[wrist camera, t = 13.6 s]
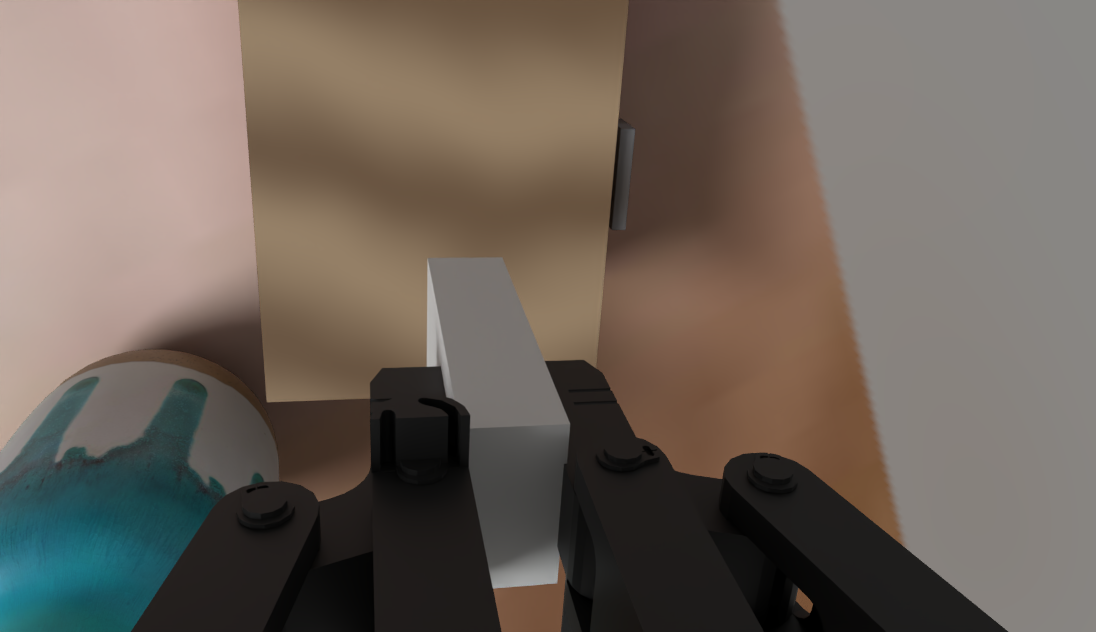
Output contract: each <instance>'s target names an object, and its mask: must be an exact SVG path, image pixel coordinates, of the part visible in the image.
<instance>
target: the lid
mask: <svg viewBox="0 0 1096 632" xmlns="http://www.w3.org/2000/svg"><path fill="white" fill-rule="evenodd" d="M628 5H629V0H238V9H239V23H240V37H241V51H242V65H243V79H244V93H245V107H246V121H247V135H248V149H249V163H250V177H251V191H252V204H253V218H254V232H255V246H256V260H257V274H258V288H259V302H260V316H261V330H262V344H263V358H264V372H265V386H266V400H267V402H289V401H316V400H343V399H370V382H371V381H372V380H373V378H374V377H375V376H376V375H377V374H378V372H379V371H380V370H381V369H382V368H400V367H427V267H428V258H486V257H502V258H503V261H504V263H505V265H506V268H507V270H508V273H509V275H510V278H511V280H512V283H513V285H514V287H515V290H516V292H517V295H518V297H519V300H520V302H521V305H522V307H523V310H524V312H525V314H526V317H527V319H528V322H529V324H530V327H531V329H532V332H533V334H534V336H535V339H536V341H537V344H538V346H539V349H540V351H541V354H542V356H543V358H544V361H561V360H585V361H586V362H588V363H589V364H591V365H592V366H593V367H595V368H596V363H597V352H598V341H599V329H600V318H601V307H602V296H603V285H604V273H605V262H606V251H607V240H608V229H609V227H610V228H611V229H612V230H625V229H626V219H627V209H628V198H629V188H630V178H631V167H632V157H633V147H634V137H635V128H633V127H632V126H631V125H629V124H628V123H627V122H625V121H624V120H622V119H618V117H619V106H620V95H621V83H622V72H623V61H624V50H625V39H626V28H627V16H628Z"/></svg>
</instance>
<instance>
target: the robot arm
mask: <svg viewBox="0 0 1096 632" xmlns="http://www.w3.org/2000/svg"><path fill="white" fill-rule="evenodd" d="M370 434H371V468H370V472H369V474H368V475H367V477H366V478H365V480H364V481H363V482H361V483H360V484H359V485H358V486H357V487H356V488H354V489H352V490H350V491H348V492H346V493H345V494H342V495H339V496H336V497H333V498H331V499H327V500H323V501H319V502H318V500H317V498H316V497H315V495H314V493H313V492H311V491H309V490H308V489H306V488H304V487H303V486H301V485H297V484H293V483H288V482H283V481H277V482H260V483H256V484H251V485H248V486H244V487H241V488H239V489H237V490H235V491H233V492H231V493H229V494H227V495H225V496H224V497H223V498H222V499H221V500H220V501H219V502H218V503H217V504H216V505H215V506H214V507H213V508H212V509H211V511H210V512H209V514H208V516H207V517H206V519H205V520H204V522H203V523H202V525H201V526H200V528H199V529H198V531H197V532H196V534H195V535H194V537H193V538H192V540H191V541H190V543H189V544H188V546H187V547H186V549H185V550H184V552H183V553H182V555H181V556H180V558H179V559H178V561H177V562H176V564H175V565H174V567H173V568H172V570H171V571H170V573H169V575H168V576H167V578H166V579H165V581H164V582H163V584H162V585H161V587H160V588H159V590H158V591H157V593H156V594H155V596H154V597H153V599H152V600H151V602H150V603H149V605H148V606H147V608H146V609H145V611H144V612H143V614H142V615H141V617H140V618H139V620H138V621H137V623H136V624H135V626H134V627H133V629H132V630H131V632H501V627H500V622H499V617H498V612H497V607H496V602H495V597H494V592H493V588H504V587H516V586H529V585H541V584H554V583H557V578H558V566H559V554H560V557H561V560H562V564H563V567H564V570H565V573H566V580H565V592H564V603H563V615H562V626H561V632H1008V631H1007V630H1005V629H1004V628H1003V627H1002V626H1000V625H999V624H998V623H997V622H996V621H994V620H993V619H992V618H991V617H989V616H988V615H987V614H986V613H984V612H983V611H982V610H981V609H980V608H978V607H977V606H976V605H975V604H973V603H972V602H971V601H970V600H969V599H967V598H966V597H965V596H964V595H962V594H961V593H960V592H958V591H957V590H956V589H955V588H954V587H952V586H951V585H950V584H949V583H948V582H946V581H945V580H944V579H943V578H942V577H940V576H939V575H938V574H937V573H935V572H934V571H933V570H931V569H930V568H929V567H928V566H927V565H925V564H924V563H923V562H922V561H921V560H919V559H918V558H917V557H916V556H914V555H913V554H912V553H911V552H910V551H908V550H907V549H906V548H905V547H903V546H902V545H901V544H900V543H898V542H897V541H896V540H895V539H893V538H892V537H891V536H890V535H889V534H887V533H886V532H885V531H884V530H882V529H881V528H880V527H879V526H877V525H876V524H875V523H874V522H873V521H871V520H870V519H869V518H868V517H866V516H865V515H864V514H863V513H861V512H860V511H859V510H858V509H857V508H855V507H854V506H853V505H852V504H850V503H849V502H848V501H847V500H845V499H844V498H843V497H842V496H841V495H839V494H838V493H837V492H836V491H834V490H833V489H832V488H831V487H829V486H828V485H827V484H826V483H825V482H823V481H822V480H821V479H820V478H818V477H817V476H816V475H815V474H813V473H812V472H811V471H810V470H808V469H807V468H805V467H804V466H802V465H800V464H799V463H797V462H795V461H793V460H790V459H787V458H784V457H781V456H780V455H776V454H771V453H770V454H768V453H750V454H742V455H740V456H737V457H735V458H732V459H731V460H730V461H729V462H728V463H727V464H726V466H725V467H724V473H723V479H717V478H710V477H703V476H695V475H690V474H685V473H681V472H677V471H675V470H674V469H673V467H672V465H671V464H670V462H669V460H668V458H667V457H666V455H665V454H664V453H663V452H662V451H661V450H660V449H659V448H658V447H657V446H655V445H653V444H651V443H650V442H648V441H646V440H644V439H640V438H636V436H635V434H634V432H633V431H632V429H631V427H630V425H629V423H628V421H627V419H626V417H625V415H624V413H623V411H622V410H621V408H620V406H619V404H617V400H616V398H615V396H614V394H613V392H612V391H610V387H609V385H608V383H607V381H606V379H605V377H604V375H603V373H602V372H600V371H599V370H598V369H596V368H595V367H593V366H592V365H591V364H589V363H588V362H586V361H585V360H561V361H544V358H543V356H542V354H541V351H540V349H539V346H538V344H537V341H536V339H535V336H534V334H533V332H532V329H531V327H530V324H529V322H528V319H527V317H526V314H525V312H524V310H523V307H522V305H521V302H520V300H519V297H518V295H517V292H516V290H515V287H514V285H513V283H512V280H511V278H510V275H509V273H508V270H507V268H506V265H505V263H504V261H503V258H502V257H486V258H428V267H427V367H400V368H382V369H381V370H380V371H379V372H378V374H377V375H376V376H375V377H374V378H373V380H372V381H371V382H370ZM798 588H799V589H800V590H801V591H802V592H803V593H804V594H805V595H806V596H807V597H808V598H809V599H810V600H811V602H812V603H813V607H812V611H811V613H808V612H807V611H806V610H804V609H803V608H802V607H801V606H800V605H799V604H798V603H797V602H796V601H795V600H796V596H797V591H798Z"/></svg>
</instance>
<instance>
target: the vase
mask: <svg viewBox="0 0 1096 632" xmlns="http://www.w3.org/2000/svg"><path fill="white" fill-rule="evenodd" d="M277 481H279V457H278V448H277V443H276V439H275V434H274V431H273V428H272V425H271V422H270V420H269V418H268V415H267V413H266V411H265V409H264V408H263V406H262V405H261V403H260V402H259V400H258V398H257V397H256V396H255V395H254V394H253V392H252V391H251V390H250V389H249V388H248V387H247V386H246V385H245V384H244V383H243V382H242V381H241V380H240V379H239V378H237V377H236V376H235V375H234V374H232V373H231V372H230V371H228V370H226V369H225V368H223V367H221V366H220V365H218V364H216V363H214V362H211V361H209V360H207V359H204V358H202V357H200V356H196V355H192V354H189V353H185V352H180V351H173V350H165V349H145V350H137V351H130V352H125V353H121V354H117V355H114V356H110V357H107V358H104V359H102V360H99V361H97V362H95V363H92V364H90V365H88V366H86V367H85V368H83V369H81V370H80V371H78V372H77V373H75V374H74V375H72V376H71V377H69V378H67V379H66V380H65V381H64V382H63V383H61V384H60V385H59V386H58V387H57V388H56V389H55V390H54V391H53V392H51V393H50V394H49V395H48V396H47V397H46V398H45V399H44V400H43V401H42V402H41V403H40V404H39V405H38V406H37V407H36V408H35V409H34V410H33V412H32V413H31V414H30V415H29V416H28V417H27V418H26V419H25V421H24V422H23V423H22V424H21V426H20V427H19V428H18V429H17V431H16V432H15V433H14V434H13V436H12V437H11V438H10V440H9V441H8V442H7V444H6V445H5V446H4V448H3V449H2V450H1V452H0V632H131V630H132V629H133V627H134V626H135V624H136V623H137V621H138V620H139V618H140V617H141V615H142V614H143V612H144V611H145V609H146V608H147V606H148V605H149V603H150V602H151V600H152V599H153V597H154V596H155V594H156V593H157V591H158V590H159V588H160V587H161V585H162V584H163V582H164V581H165V579H166V578H167V576H168V575H169V573H170V571H171V570H172V568H173V567H174V565H175V564H176V562H177V561H178V559H179V558H180V556H181V555H182V553H183V552H184V550H185V549H186V547H187V546H188V544H189V543H190V541H191V540H192V538H193V537H194V535H195V534H196V532H197V531H198V529H199V528H200V526H201V525H202V523H203V522H204V520H205V519H206V517H207V516H208V514H209V512H210V511H211V509H212V508H213V507H214V506H215V505H216V504H217V503H218V502H219V501H220V500H221V499H222V498H223V497H224V496H225V495H227V494H229V493H231V492H233V491H235V490H237V489H239V488H241V487H244V486H248V485H251V484H256V483H260V482H277Z"/></svg>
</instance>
